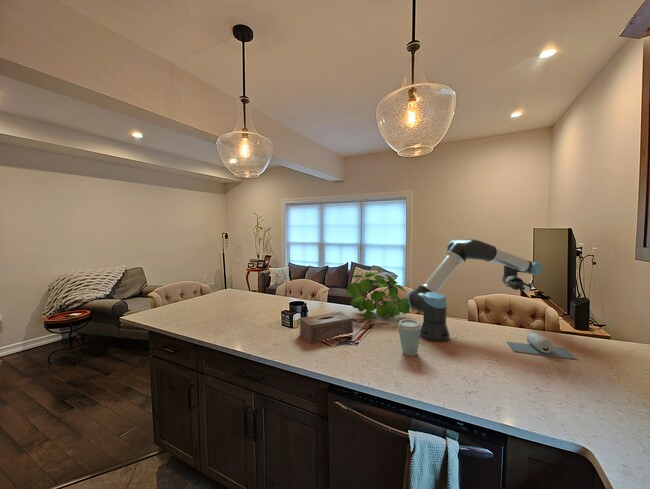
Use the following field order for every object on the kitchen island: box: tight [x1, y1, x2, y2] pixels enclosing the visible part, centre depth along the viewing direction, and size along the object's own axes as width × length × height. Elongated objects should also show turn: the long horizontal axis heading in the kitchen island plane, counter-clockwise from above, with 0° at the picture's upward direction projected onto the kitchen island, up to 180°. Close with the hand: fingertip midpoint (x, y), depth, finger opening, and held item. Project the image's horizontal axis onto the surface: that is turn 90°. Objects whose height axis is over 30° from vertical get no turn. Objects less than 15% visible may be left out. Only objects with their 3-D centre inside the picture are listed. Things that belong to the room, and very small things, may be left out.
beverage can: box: [526, 332, 554, 353], centre depth 131 cm, size 6×6×12 cm
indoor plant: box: [345, 271, 411, 319], centre depth 189 cm, size 44×42×30 cm
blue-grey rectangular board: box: [506, 341, 578, 360], centre depth 130 cm, size 24×12×1 cm, turn 69°
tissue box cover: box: [299, 311, 354, 345], centre depth 151 cm, size 26×14×10 cm, turn 116°
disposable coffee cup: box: [397, 318, 422, 357], centre depth 128 cm, size 11×11×15 cm
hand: (528, 290), depth 145 cm, fingers closed
